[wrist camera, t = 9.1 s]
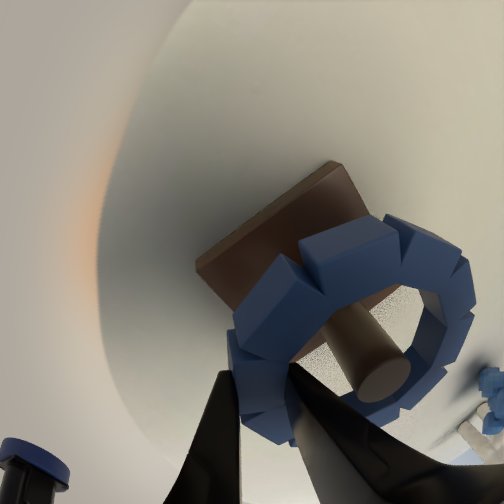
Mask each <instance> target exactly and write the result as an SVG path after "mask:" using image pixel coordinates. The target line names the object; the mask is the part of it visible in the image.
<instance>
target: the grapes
mask: <svg viewBox="0 0 504 504" xmlns="http://www.w3.org/2000/svg"><path fill="white" fill-rule="evenodd" d="M478 386H479V391H482V397H487V398H488V407H489V410H491V412H488V413H487V414H486V416H485V417H484V420H483V430H482V434H486V435H496V434H499V433H500V432H501V431H502V430H503V428H504V372H500V370H499V368H498V367H489V368H485V369H483V370H482V371H481V372H480V375H479V383H478Z"/></svg>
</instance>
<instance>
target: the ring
mask: <svg viewBox="0 0 504 504" xmlns="http://www.w3.org/2000/svg"><path fill="white" fill-rule="evenodd" d="M298 245H299V249H300V253H301V256H302V260H303V264H304V268H303V267H302V266H300V265H299V264H297V263H296V262H294V261H293V260H291V259H290V258H288V257H287V256H285V255H283V254H281V253H280V254H279V255H278V257H277V258H276V259H275V261H274V262H273V263H272V264H271V266H270V267H269V268H268V270H267V271H266V272H265V273H264V275H263V276H262V277H261V279H260V280H259V281H258V282H257V284H256V285H255V286H254V288H253V289H252V290H251V291H250V293H249V294H248V295H247V297H246V298H245V299H244V300H243V302H242V303H241V304H240V305H239V307H238V308H237V309H236V311H235V312H234V313H233V315H232V316H233V320H234V325H235V329H231V330H227V349H228V366H229V370H232V375H233V378H234V379H235V383H236V388H237V392H238V397H239V412H240V418H241V423H242V424H243V425H244V426H246V427H248V428H249V429H251V430H253V431H254V432H256V433H258V434H260V435H261V436H263V437H265V438H266V439H268V440H270V441H272V442H274V443H275V444H277V445H281V444H283V443H285V442H287V441H288V442H289V445H290V447H298V445H297V443H296V440H295V437H294V435H293V432H292V429H291V426H290V422H289V418H288V414H287V409H286V405H285V401H284V397H285V388H286V380H287V372H288V368H289V362H290V361H291V360H292V359H293V358H294V357H295V356H296V355H297V353H298V352H299V351H300V350H301V349H302V348H303V347H304V346H305V345H306V344H307V343H308V342H309V340H310V339H311V338H312V337H313V336H314V335H315V334H316V333H317V332H318V331H319V329H320V328H321V327H322V326H323V325H324V324H325V323H326V322H327V320H328V319H329V318H330V317H331V316H332V315H333V314H334V312H335V311H336V310H338V309H341V308H343V307H345V306H348V305H350V304H352V303H355V302H357V301H359V300H362V299H364V298H366V297H368V296H371V295H373V294H375V293H377V292H379V291H382V290H384V289H386V288H388V287H390V286H392V285H395V284H400V285H404V286H408V287H412V288H416V289H418V290H419V292H420V295H421V298H422V301H423V303H424V308H423V312H422V315H421V318H420V321H419V324H418V327H417V330H416V333H415V336H414V339H413V342H412V345H411V346H410V347H409V348H408V349H407V350H406V351H405V352H404V355H405V356H406V357H407V359H408V360H409V361H410V365H411V370H410V373H409V376H408V378H407V379H406V381H405V382H404V383H403V385H402V386H401V387H400V388H399V389H398V390H396V391H395V392H394V393H393V394H391V395H390V396H388V397H386V398H384V399H382V400H379V401H376V402H369V403H367V402H363V401H361V400H359V399H358V397H357V396H356V394H355V392H354V390H353V391H351V392H349V393H347V394H344V395H342V396H340V398H341V399H343V400H344V401H345V402H346V403H348V404H349V405H350V406H352V407H353V408H354V409H355V410H357V411H358V412H359V413H361V414H362V415H363V416H365V417H366V418H367V419H369V420H370V423H371V422H373V423H374V424H375V425H377V426H378V427H379V428H380V427H382V426H384V425H386V424H388V423H390V422H392V421H394V420H396V419H397V418H399V413H400V408H404V409H407V410H411V409H412V408H413V407H414V406H415V405H416V404H417V403H418V402H419V401H420V400H421V399H422V398H423V397H424V396H425V395H426V394H427V393H428V392H429V391H430V390H431V389H432V388H433V387H434V386H435V385H436V384H437V383H438V382H439V381H440V380H441V379H442V378H443V377H444V376H445V375H446V374H447V370H446V369H445V368H444V367H443V366H446V365H448V364H451V363H453V362H455V361H456V359H457V357H458V354H459V352H460V350H461V348H462V346H463V343H464V341H465V339H466V336H467V334H468V331H469V329H470V327H471V324H472V321H473V319H474V316H475V315H474V314H473V313H472V312H470V310H471V309H472V308H473V307H474V306H475V305H476V297H475V291H474V285H473V280H472V274H471V269H470V264H469V260H468V259H466V258H465V257H463V256H462V255H461V253H462V250H461V249H459V248H458V247H456V246H454V245H453V244H451V243H449V242H448V241H446V240H444V239H443V238H441V237H439V236H438V235H436V234H434V233H432V232H430V231H427V230H425V229H423V228H421V227H418V226H416V225H414V224H411V223H409V222H407V221H404V220H402V219H399V218H397V217H394V216H392V215H390V214H386V215H385V217H384V219H383V222H382V221H380V220H379V219H377V218H375V217H374V216H372V215H366V216H364V217H361V218H358V219H356V220H353V221H350V222H347V223H345V224H342V225H339V226H337V227H334V228H331V229H329V230H326V231H323V232H321V233H318V234H315V235H312V236H310V237H307V238H304V239H302V240H300V241H298Z"/></svg>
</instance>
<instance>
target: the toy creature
mask: <svg viewBox="0 0 504 504" xmlns="http://www.w3.org/2000/svg"><path fill="white" fill-rule="evenodd" d="M488 412H491V410H489V407H488V403H484V404H482V405H480V406H479V407H478V408H477V414H478V415H479V417H480V418H481V419H482V421H483V420H484V417H485V416H486V414H487V413H488ZM458 433H459V434H460V435H461V436H462V438H463V439H464V440H465V441H467V442H468V444H469V445H470V446H471V448H472V449H473V450H474V451H475V452H476V453H477V454H478V455H479V456H480V458H481V459H482V460H483V461H484V464H485V465H493V464H504V428H503V430H502V431H501V432H500V433H499V434H496V435H489V436H490V438H491V439H490V440H488V439H487V438H486V437H485V436H483V435H482V434H481V433H480V432H478V431H477V429H476V428H475V427H474V426H473V425H472V424H471V423H470V422H468V421H464V422H463V423H462V424H461V425H460V427H459V429H458Z"/></svg>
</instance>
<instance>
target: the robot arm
mask: <svg viewBox="0 0 504 504" xmlns="http://www.w3.org/2000/svg"><path fill="white" fill-rule="evenodd" d="M284 401H285V405H286V409H287V414H288V418H289V422H290V426H291V429H292V432H293V435H294V437H295V440H296V443H297V445H298V448H299V450H300V453H301V456H302V458H303V461H304V463H305V466H306V468H307V471H308V474H309V476H310V479H311V481H312V484H313V486H314V489H315V491H316V494H317V496H318V499H319V501H320V504H504V464H493V465H465V466H463V465H460V466H459V465H457V466H456V465H447V464H443V463H441V462H438V461H436V460H433V459H432V458H430V457H428V456H426V455H424V454H422V453H420V452H418V451H417V450H415V449H413V448H411V447H409V446H407V445H406V444H404V443H402V442H401V441H399V440H397V439H396V438H394V437H392V436H391V435H389V434H388V433H386V432H385V431H384V430H382V429H381V428H379V427H378V426H377V425H375V424H374V423H373V422H371V423H370V420H369V419H367V418H366V417H365V416H363V415H362V414H361V413H359V412H358V411H357V410H355V409H354V408H353V407H352V406H350V405H349V404H348V403H346V402H345V401H344V400H343V399H341V398H340V397H339V396H337V395H336V394H335V393H334V392H332V391H331V390H330V389H329V388H327V387H326V386H325V385H324V384H322V383H321V382H320V381H319V380H317V379H316V378H315V377H314V376H312V375H311V374H310V373H309V372H308V371H306V370H305V369H304V368H303V367H301V366H300V365H299V364H298V363H296V362H292V363H289V368H288V372H287V380H286V388H285V397H284ZM188 453H189V454H187V457H186V459H185V462H184V464H183V466H182V469H181V471H180V474H179V476H178V478H177V480H176V482H175V484H174V485H173V487H172V489H171V491H170V492H169V494H168V496H167V498H166V499H165V501H164V502H163V504H242V478H241V437H240V412H239V397H238V392H237V388H236V383H235V379H234V378H233V375H232V370H223V371H219V373H218V375H217V378H216V381H215V383H214V386H213V389H212V391H211V394H210V397H209V399H208V402H207V405H206V407H205V410H204V412H203V415H202V418H201V420H200V423H199V426H198V428H197V431H196V433H195V436H194V439H193V441H192V444H191V447H190V449H189V452H188ZM0 468H2V469H3V470H4V471H5V473H4V476H3V480H2V484H1V487H0V504H54V497H55V492H59V491H64V490H68V488H69V486H68V484H66V483H64V482H62V481H60V480H58V479H56V478H55V477H53V476H51V475H49V474H47V473H46V472H44V471H42V470H40V469H39V468H37V467H35V466H34V465H32V464H31V463H29V462H27V461H26V460H24V459H23V458H21V457H20V456H18V455H15V454H13V455H11V456H9V457H7V458H5V459H4V460H2V461H0Z"/></svg>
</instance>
